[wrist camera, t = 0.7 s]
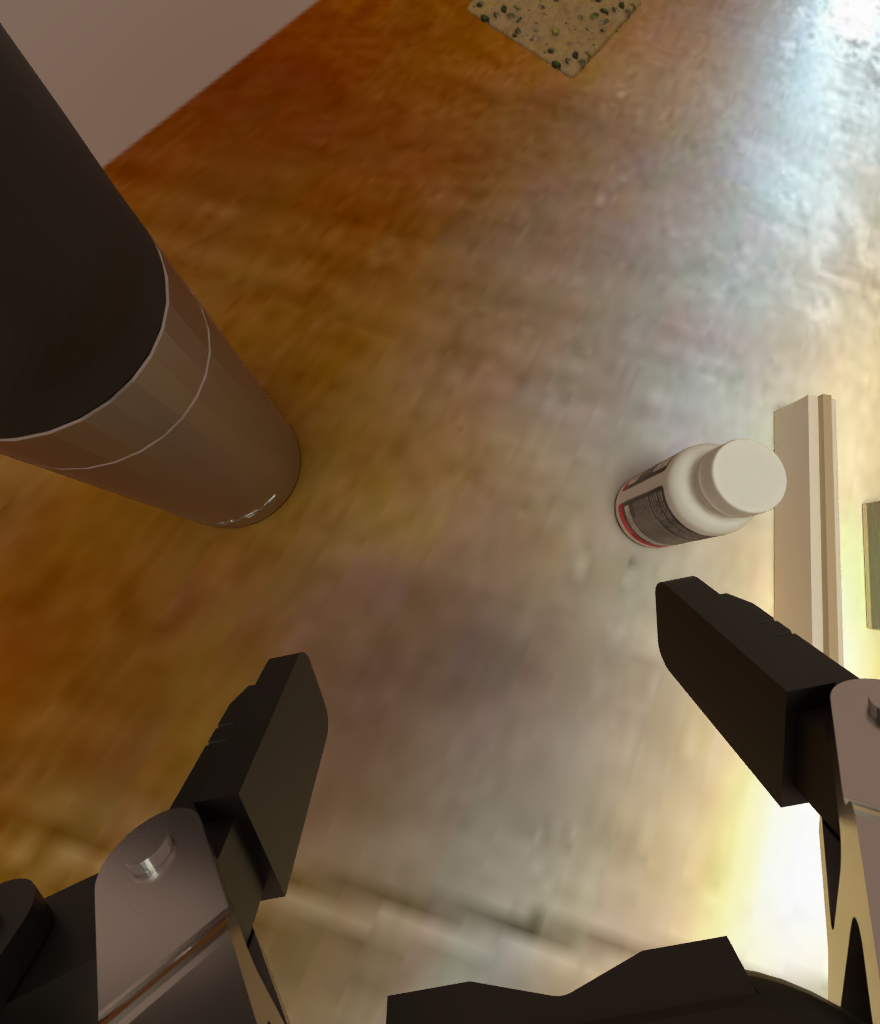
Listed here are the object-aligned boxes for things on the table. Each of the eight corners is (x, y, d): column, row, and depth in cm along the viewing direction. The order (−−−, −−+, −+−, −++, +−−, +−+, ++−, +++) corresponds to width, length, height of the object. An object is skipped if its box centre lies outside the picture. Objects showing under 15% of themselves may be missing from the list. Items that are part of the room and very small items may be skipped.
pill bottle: (682, 555, 32) (799, 537, 22) (609, 540, 32) (694, 516, 22) (688, 482, 33) (802, 435, 23) (617, 468, 33) (701, 415, 23)
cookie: (641, 7, 42) (647, -7, 41) (571, 85, 40) (574, 73, 39) (538, -58, 43) (540, -73, 42) (463, 16, 40) (464, 2, 39)
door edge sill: (802, 689, 30) (850, 700, 27) (774, 685, 30) (819, 695, 27) (799, 416, 34) (841, 397, 31) (774, 412, 34) (813, 392, 31)
